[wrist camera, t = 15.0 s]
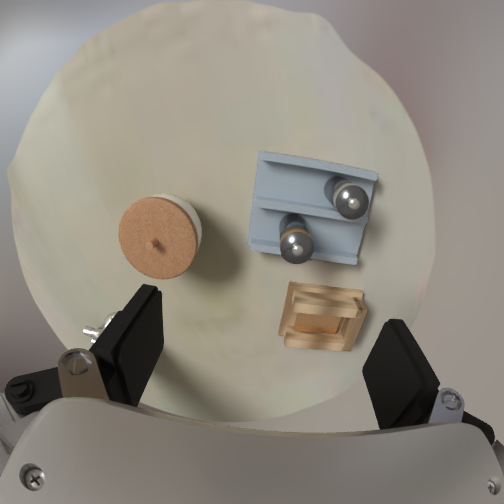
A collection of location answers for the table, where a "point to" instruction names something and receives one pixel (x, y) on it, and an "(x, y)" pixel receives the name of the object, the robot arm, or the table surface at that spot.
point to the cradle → (322, 303)
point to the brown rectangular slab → (316, 323)
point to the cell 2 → (346, 197)
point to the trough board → (305, 205)
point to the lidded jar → (160, 235)
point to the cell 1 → (295, 239)
